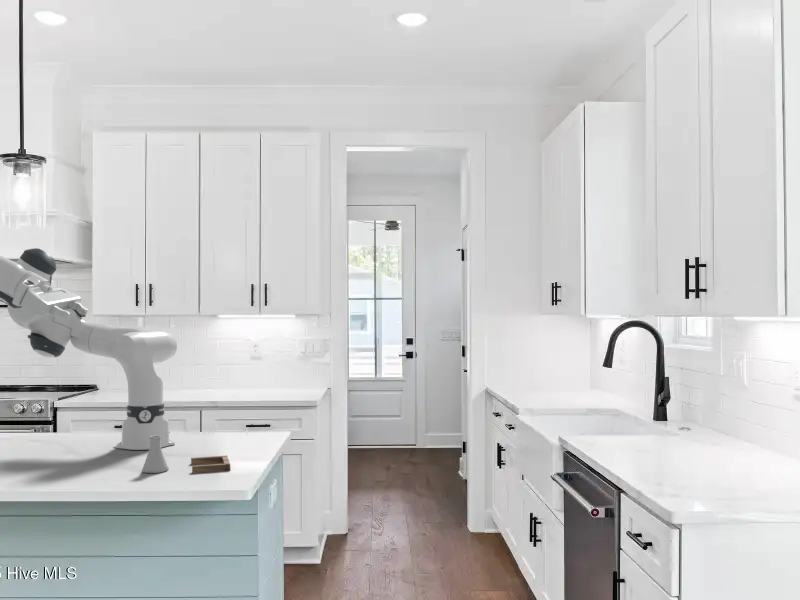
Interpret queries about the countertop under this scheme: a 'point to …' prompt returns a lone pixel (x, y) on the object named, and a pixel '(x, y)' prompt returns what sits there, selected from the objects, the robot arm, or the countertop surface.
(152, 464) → the flask
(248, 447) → the countertop surface
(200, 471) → the dock
